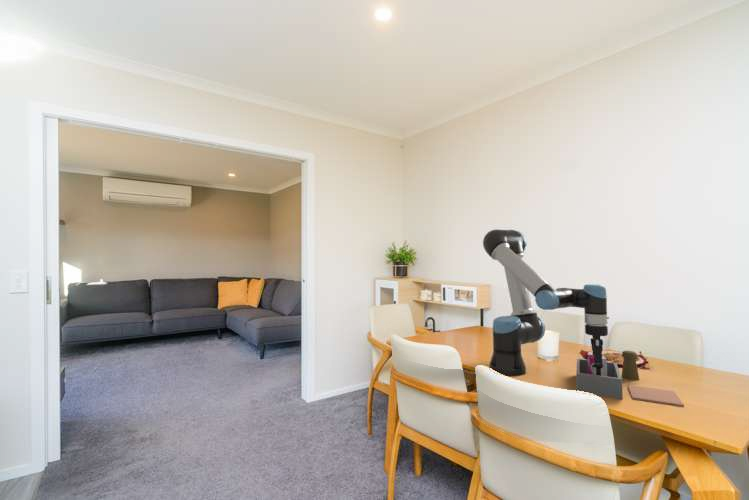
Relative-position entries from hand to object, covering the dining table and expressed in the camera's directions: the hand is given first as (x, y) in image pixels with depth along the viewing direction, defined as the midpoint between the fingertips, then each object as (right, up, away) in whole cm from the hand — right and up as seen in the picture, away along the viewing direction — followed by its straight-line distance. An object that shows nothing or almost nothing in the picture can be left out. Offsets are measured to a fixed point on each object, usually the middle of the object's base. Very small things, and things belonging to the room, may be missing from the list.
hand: (598, 379), depth 138 cm
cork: (+19, -3, +9) cm, 21 cm away
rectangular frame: (0, -3, 0) cm, 3 cm away
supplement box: (0, -3, 0) cm, 3 cm away
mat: (+14, -2, -10) cm, 17 cm away
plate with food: (+29, -4, +33) cm, 44 cm away
